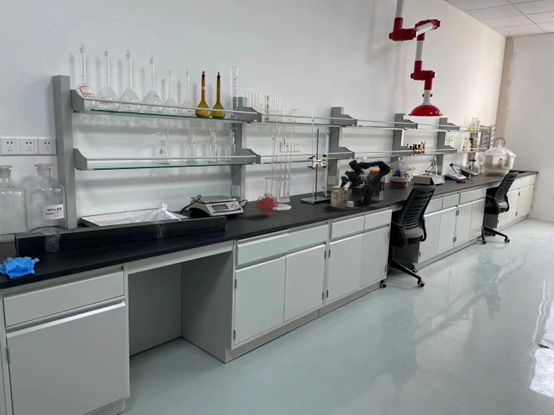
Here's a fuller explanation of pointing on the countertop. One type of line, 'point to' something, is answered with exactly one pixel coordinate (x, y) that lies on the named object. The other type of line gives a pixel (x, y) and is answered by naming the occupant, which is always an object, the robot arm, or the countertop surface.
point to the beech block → (335, 198)
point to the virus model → (267, 204)
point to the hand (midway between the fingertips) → (344, 188)
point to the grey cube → (350, 204)
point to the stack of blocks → (341, 192)
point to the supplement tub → (379, 187)
